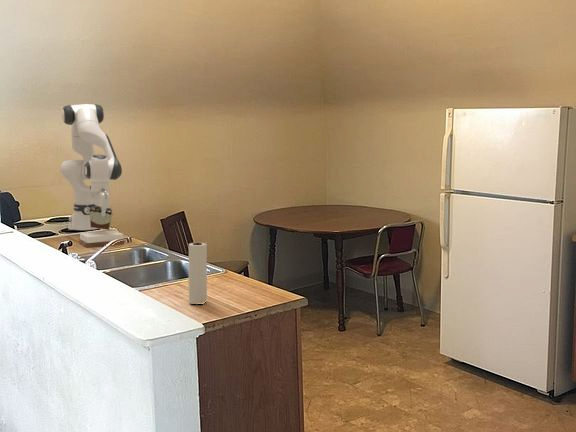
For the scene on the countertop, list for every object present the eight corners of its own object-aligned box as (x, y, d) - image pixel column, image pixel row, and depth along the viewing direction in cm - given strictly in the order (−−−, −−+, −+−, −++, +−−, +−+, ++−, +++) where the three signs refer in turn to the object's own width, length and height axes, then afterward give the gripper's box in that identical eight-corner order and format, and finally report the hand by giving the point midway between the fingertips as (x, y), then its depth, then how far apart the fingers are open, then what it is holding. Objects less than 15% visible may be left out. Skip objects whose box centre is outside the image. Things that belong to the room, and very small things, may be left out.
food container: (115, 226, 341) (116, 207, 338) (111, 230, 335) (112, 211, 332) (91, 222, 341) (92, 204, 338) (87, 226, 335) (88, 208, 332)
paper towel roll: (191, 306, 231) (191, 245, 228) (186, 301, 236) (186, 242, 233) (211, 304, 234) (211, 244, 230) (206, 300, 239) (206, 241, 236)
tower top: (80, 239, 337) (79, 233, 336) (114, 236, 347) (114, 230, 346) (87, 243, 327) (87, 237, 326) (123, 239, 337) (123, 234, 336)
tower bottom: (79, 244, 338) (79, 238, 337) (116, 241, 347) (116, 236, 347) (86, 249, 327) (85, 243, 326) (124, 246, 336) (124, 240, 336)
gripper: (112, 189, 326) (113, 217, 328) (101, 185, 343) (101, 212, 345) (99, 190, 322) (100, 218, 324) (88, 185, 340) (89, 212, 342)
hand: (100, 215), depth 335 cm, fingers closed on food container, 6 cm apart
